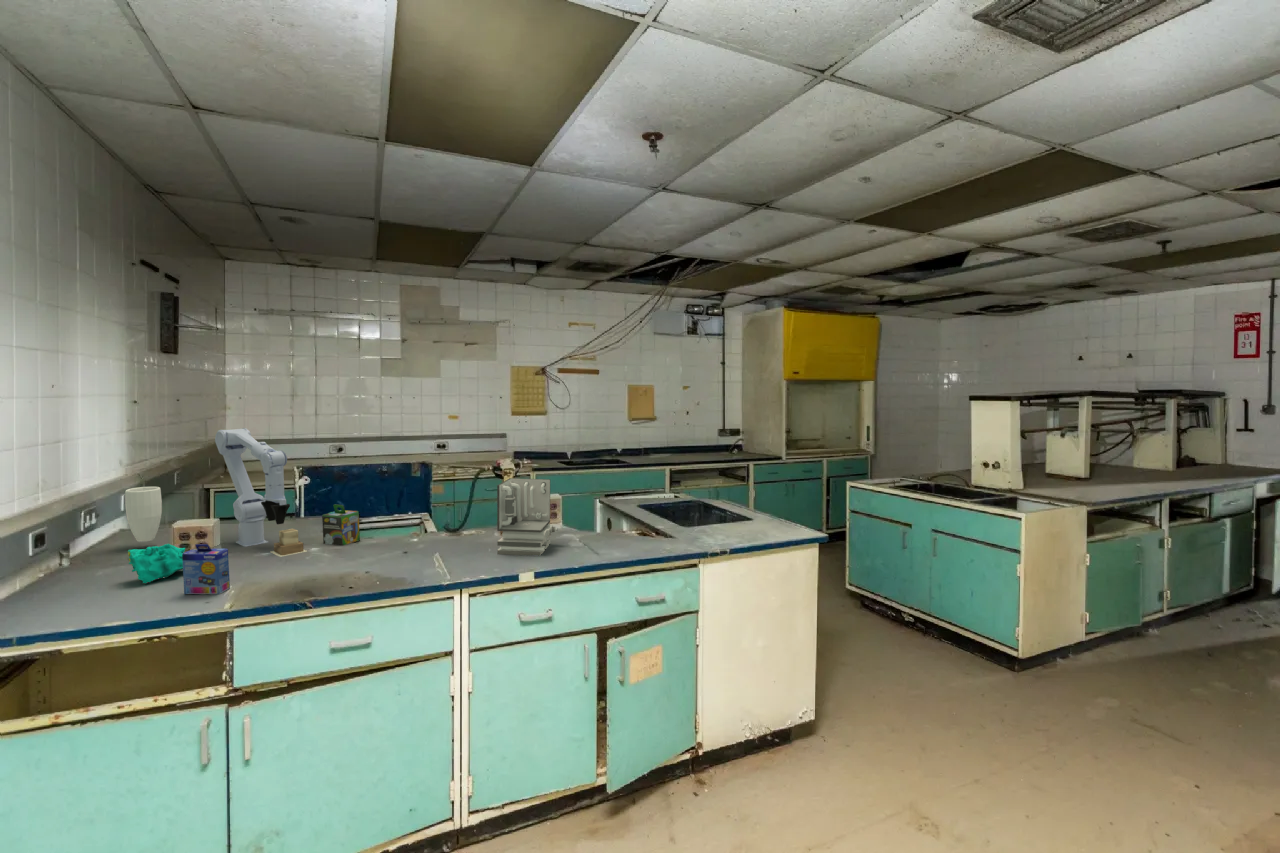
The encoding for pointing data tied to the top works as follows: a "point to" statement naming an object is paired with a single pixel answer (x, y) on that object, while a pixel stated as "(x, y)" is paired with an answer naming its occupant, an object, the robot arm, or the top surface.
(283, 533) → the maple cube
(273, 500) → the robot arm
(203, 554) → the ink cartridge box
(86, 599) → the top surface
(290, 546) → the brown square wooden block
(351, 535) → the chalk box
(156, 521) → the cup
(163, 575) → the teal lumpy piece
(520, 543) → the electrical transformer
